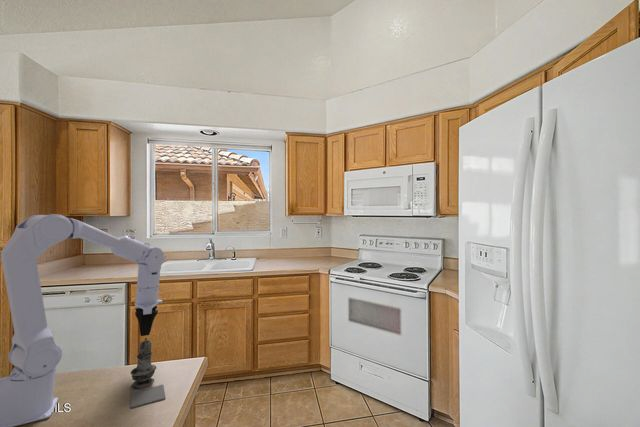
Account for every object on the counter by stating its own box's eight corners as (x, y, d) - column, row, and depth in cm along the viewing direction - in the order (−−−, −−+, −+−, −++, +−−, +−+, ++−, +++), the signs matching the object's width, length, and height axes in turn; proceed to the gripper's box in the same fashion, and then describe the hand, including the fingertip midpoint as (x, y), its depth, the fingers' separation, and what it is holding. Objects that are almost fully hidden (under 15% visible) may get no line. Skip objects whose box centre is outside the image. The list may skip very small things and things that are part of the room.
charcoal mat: (130, 408, 63) (130, 407, 63) (131, 393, 69) (131, 392, 69) (165, 399, 67) (165, 397, 67) (163, 385, 73) (163, 384, 73)
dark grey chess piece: (160, 378, 76) (163, 334, 77) (144, 390, 70) (148, 342, 71) (140, 377, 77) (143, 333, 78) (123, 388, 71) (127, 340, 72)
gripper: (165, 289, 79) (162, 338, 78) (161, 282, 91) (158, 324, 90) (135, 292, 75) (132, 343, 74) (136, 283, 87) (132, 327, 86)
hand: (144, 333), depth 82 cm, fingers open, 3 cm apart
